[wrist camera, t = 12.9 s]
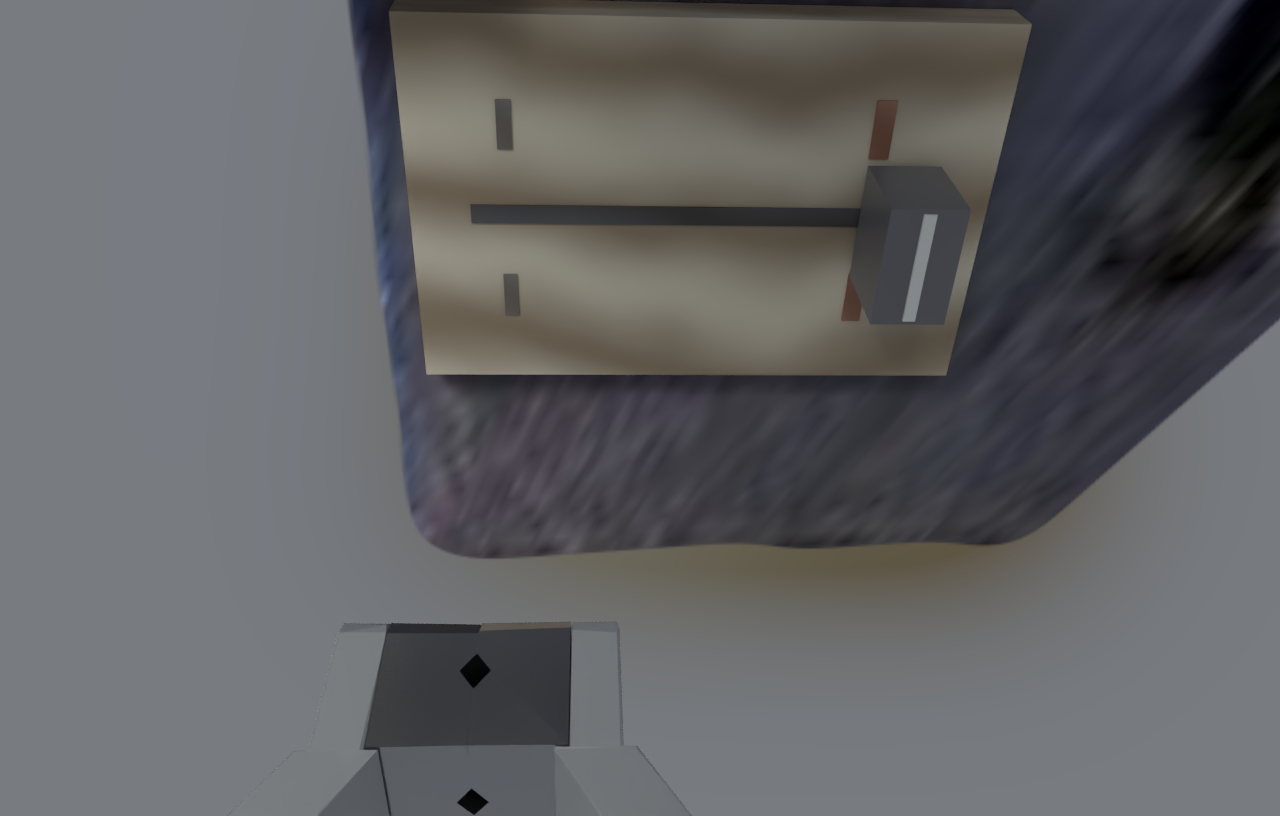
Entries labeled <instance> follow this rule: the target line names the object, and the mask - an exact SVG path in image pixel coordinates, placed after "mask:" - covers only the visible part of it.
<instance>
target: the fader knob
mask: <svg viewBox="0 0 1280 816" xmlns="http://www.w3.org/2000/svg"><path fill="white" fill-rule="evenodd" d="M970 213H971V209H970V207H969V206H968V204H967V203H966V202H965V200H964V199H963V197H962V196H961V194H960V193H959V191H958V190H957V188H956V187H955V185H954V184H953V183H952V181H951V180H950V178H949V177H948V175H947V174H946V172H945V171H944V169H943V168H942V167H934V166H868V169H867V175H866V181H865V187H864V193H863V199H862V205H861V211H860V217H859V223H858V229H857V234H856V240H855V246H854V252H853V258H852V264H851V270H850V278H851V280H852V283H853V285H854V287H855V290H856V292H857V295H858V297H859V299H860V302H861V304H862V306H863V309H864V311H865V314H866V316H867V318H868V321H869V323H870V324H877V325H944V323H945V319H946V315H947V310H948V306H949V302H950V298H951V293H952V289H953V285H954V281H955V276H956V272H957V268H958V264H959V259H960V255H961V251H962V247H963V242H964V238H965V234H966V230H967V225H968V221H969V217H970Z"/></svg>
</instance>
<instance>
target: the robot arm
mask: <svg viewBox="0 0 1280 816" xmlns="http://www.w3.org/2000/svg"><path fill="white" fill-rule="evenodd" d="M620 660H621V659H620V631H619V626H618V623H617V622H573V623H572V651H571V622H537V623H536V622H535V623H484V624H482V625H465V624H404V623H400V624H399V623H392V624H355V623H354V624H353V623H349V624H348V623H344V625H343V626H342V628H341V629H340V631H339V633H338V635H337V637H336V641H335V645H334V649H333V653H332V657H331V661H330V665H329V669H328V672H327V676H326V681H325V684H324V688H323V692H322V696H321V700H320V704H319V708H318V712H317V716H316V720H315V724H314V728H313V732H312V736H311V740H310V744H309V748H308V750H306V751H293V752H292V753H291V754H290V755H289V756H288V757H287V758H286V759H285V760H284V761H283V762H282V763H281V764H280V765H279V766H278V767H277V768H276V769H275V770H274V771H273V772H272V773H271V774H270V775H269V776H268V777H267V778H266V779H265V780H263V782H262V783H260V784H259V785H258V786H257V787H256V788H255V789H254V790H253V791H252V792H251V793H250V794H249V795H248V796H247V797H246V798H245V799H244V800H243V801H242V802H241V803H240V804H239V805H238V806H237V807H236V808H235V809H234V810H233V811H232V812H231V813H230V814H229V815H228V816H692V815H691V814H690V813H689V812H688V810H687V809H686V808H685V806H684V805H683V804H682V803H681V801H680V800H679V799H678V797H677V796H676V795H675V794H674V792H673V791H672V790H671V788H670V787H669V786H668V785H667V783H666V782H665V781H664V780H663V778H662V777H661V776H660V774H659V773H658V772H657V771H656V769H655V768H654V767H653V766H652V764H651V763H650V762H649V761H648V759H647V758H646V757H645V755H644V754H643V753H642V751H641V750H640V749H639V748H638V746H624V743H623V717H622V716H623V715H622V687H621V661H620Z"/></svg>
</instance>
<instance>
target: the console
mask: <svg viewBox="0 0 1280 816" xmlns="http://www.w3.org/2000/svg"><path fill="white" fill-rule="evenodd" d="M389 20H390V30H391V39H392V49H393V58H394V68H395V77H396V87H397V97H398V106H399V116H400V125H401V135H402V144H403V154H404V163H405V173H406V183H407V192H408V202H409V211H410V221H411V230H412V240H413V249H414V259H415V269H416V278H417V288H418V297H419V307H420V316H421V326H422V335H423V345H424V354H425V364H426V374H477V375H933V376H946V374H947V370H948V366H949V362H950V358H951V354H952V350H953V346H954V342H955V337H956V333H957V329H958V325H959V321H960V317H961V313H962V309H963V305H964V301H965V297H966V293H967V288H968V284H969V280H970V276H971V272H972V268H973V264H974V260H975V256H976V252H977V248H978V243H979V239H980V235H981V231H982V227H983V223H984V219H985V215H986V211H987V207H988V203H989V199H990V194H991V190H992V186H993V182H994V178H995V174H996V170H997V166H998V162H999V158H1000V154H1001V149H1002V145H1003V141H1004V137H1005V133H1006V129H1007V125H1008V121H1009V117H1010V113H1011V109H1012V104H1013V100H1014V96H1015V92H1016V88H1017V84H1018V80H1019V76H1020V72H1021V68H1022V64H1023V60H1024V55H1025V51H1026V47H1027V43H1028V39H1029V35H1030V31H1031V27H1032V24H1031V23H1030V22H1029V21H1027V20H1026V19H1025V18H1024V17H1023V16H1021V15H1020V14H1019V13H1018V12H1017V11H1016V10H1010V9H964V8H917V7H870V6H823V5H776V4H729V3H682V2H636V1H589V0H394V2H393V4H392V6H391V8H390V10H389ZM868 166H934V167H942V168H943V169H944V171H945V172H946V174H947V175H948V177H949V178H950V180H951V181H952V183H953V184H954V185H955V187H956V188H957V190H958V191H959V193H960V194H961V196H962V197H963V199H964V200H965V202H966V203H967V204H968V206H969V207H970V209H971V213H970V217H969V221H968V225H967V230H966V234H965V238H964V242H963V247H962V251H961V255H960V259H959V264H958V268H957V272H956V276H955V281H954V285H953V289H952V293H951V298H950V302H949V306H948V310H947V315H946V319H945V323H944V325H877V324H870V323H869V321H868V318H867V316H866V314H865V311H864V309H863V306H862V304H861V302H860V299H859V297H858V295H857V292H856V290H855V287H854V285H853V283H852V280H851V278H850V270H851V264H852V258H853V252H854V246H855V240H856V234H857V229H858V223H859V217H860V211H861V205H862V199H863V193H864V187H865V181H866V175H867V169H868Z"/></svg>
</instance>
